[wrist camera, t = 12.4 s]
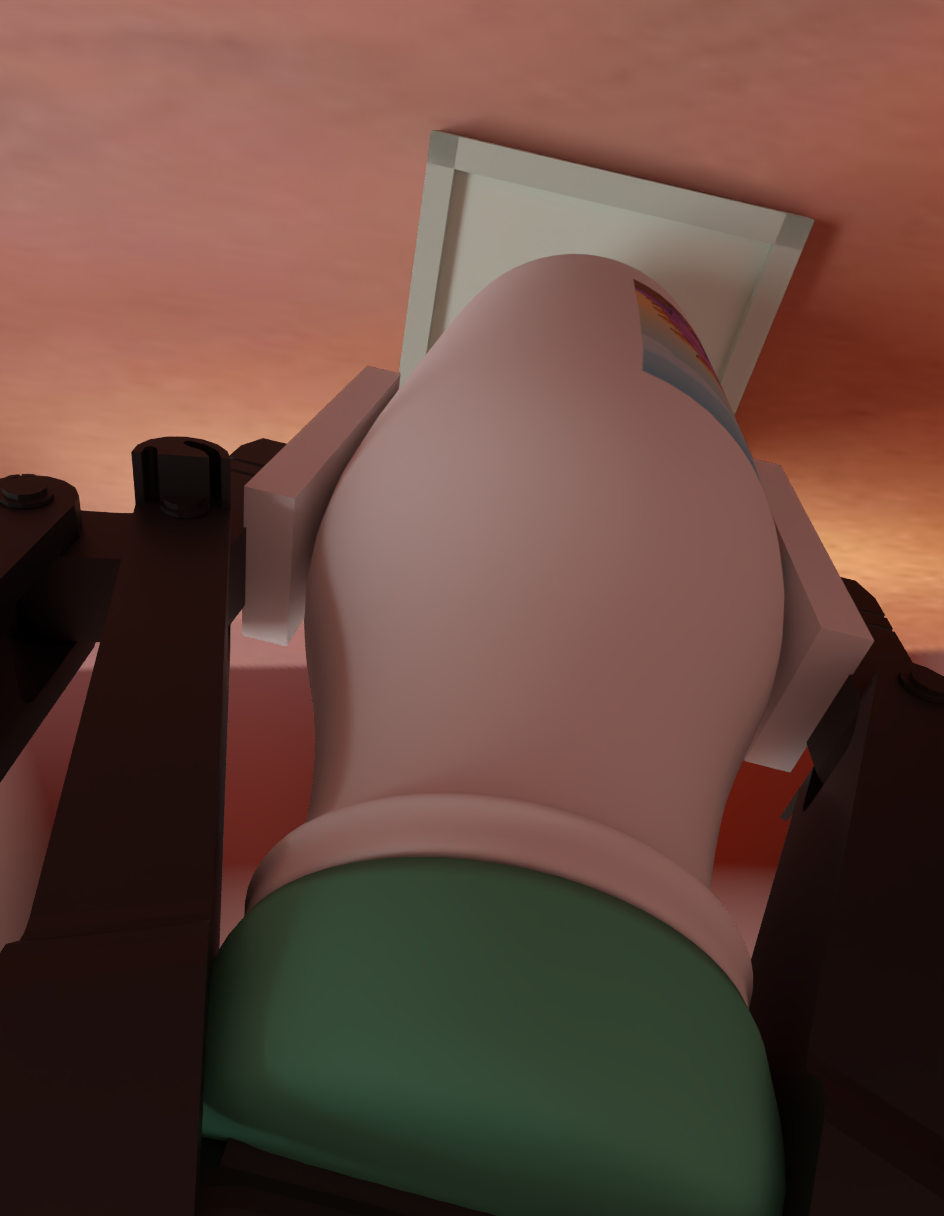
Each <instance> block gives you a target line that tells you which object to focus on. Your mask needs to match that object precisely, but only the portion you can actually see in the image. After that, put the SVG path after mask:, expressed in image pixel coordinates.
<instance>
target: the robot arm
mask: <svg viewBox="0 0 944 1216" xmlns="http://www.w3.org/2000/svg"><path fill="white" fill-rule="evenodd" d="M400 377H401V373H396V372H392V371H388V370H384V369H380V368H376V367H371V366H366V367H365V368H364V369H363V370H362V371H361V372H360V373H359V374H358V375H357V376H356V377H355V378H354V379H353V380H352V381H351V382H350V383H349V384H348V385H347V386H346V387H345V388H344V389H343V390H342V391H341V392H340V393H339V394H338V395H337V396H336V397H335V398H334V399H333V400H332V401H331V402H330V403H328V404H327V405H326V406H325V407H324V408H323V409H322V410H321V411H320V412H319V413H318V414H317V415H316V416H315V417H314V418H313V419H312V420H311V421H310V422H309V423H308V424H307V425H306V426H305V427H304V428H303V429H302V430H301V431H300V432H299V433H298V434H297V435H296V436H295V437H294V438H293V439H292V440H291V441H290V442H289V443H288V444H285V443H281V442H277V441H273V440H269V439H264V438H262V439H259V440H256V441H253V442H250V443H247V444H244V445H241V446H240V447H239V448H238V449H237V450H235V451H234V452H233V453H232V454H231V455H230V456H229V454H228V452H227V451H226V450H225V449H223V448H222V447H220V446H219V445H217V444H215V443H212V442H209V441H206V440H203V439H197V438H190V437H162V438H156V439H150V440H148V441H145V442H143V443H140V444H138V445H137V446H136V447H135V448H134V450H133V451H132V452H131V453H132V465H133V477H134V490H135V502H136V505H135V509H134V513H109V512H94V511H81V509H80V501H79V495H78V493H77V491H76V488H75V487H73V486H72V485H70V484H69V483H67V482H65V481H63V480H59V479H56V478H52V477H48V476H36V475H34V474H22V476H20V475H19V474H18V475H10V476H7V477H5V478H1V479H0V782H1V781H2V779H3V778H4V776H5V775H6V773H7V772H8V771H9V769H10V767H11V766H12V765H13V763H14V762H15V761H16V759H17V758H18V756H19V755H20V753H21V752H22V750H23V749H24V747H25V746H26V745H27V743H28V742H29V740H30V739H31V737H32V736H33V735H34V733H35V732H36V730H37V729H38V727H39V726H40V724H41V723H42V721H43V720H44V719H45V717H46V716H47V714H48V713H49V712H50V710H51V709H52V707H53V706H54V704H55V703H56V701H57V700H58V698H59V697H60V696H61V694H62V693H63V691H64V690H65V688H66V687H67V686H68V684H69V682H70V681H71V680H72V678H73V677H74V675H75V674H76V673H77V671H78V670H79V668H80V667H81V665H82V664H83V662H84V661H85V660H86V658H87V657H88V655H89V654H90V652H91V651H92V649H93V648H94V646H95V643H96V642H100V645H99V649H98V653H97V657H96V661H95V665H94V669H93V672H92V677H91V681H90V684H89V688H88V692H87V696H86V700H85V704H84V708H83V711H82V716H81V719H80V724H79V727H78V731H77V735H76V739H75V743H74V746H73V750H72V754H71V758H70V762H69V766H68V770H67V774H66V778H65V782H64V786H63V790H62V793H61V797H60V801H59V805H58V809H57V813H56V817H55V820H54V824H53V828H52V833H51V837H50V840H49V844H48V848H47V852H46V856H45V860H44V863H43V867H42V871H41V875H40V879H39V883H38V887H37V891H36V895H35V898H34V902H33V906H32V910H31V914H30V918H29V921H28V924H27V927H26V930H25V932H24V934H23V936H22V937H21V939H20V940H19V941H16V942H12V943H8V944H6V945H5V946H4V948H3V949H2V951H1V953H0V1216H496V1215H492V1214H489V1213H486V1212H481V1211H477V1210H473V1209H469V1208H465V1207H462V1206H459V1205H455V1204H452V1203H447V1202H443V1201H439V1200H435V1199H432V1198H428V1197H425V1196H422V1195H418V1194H414V1193H410V1192H406V1191H402V1190H398V1189H395V1188H391V1187H388V1186H385V1185H381V1184H378V1183H374V1182H370V1181H366V1180H362V1179H358V1178H354V1177H351V1176H348V1175H344V1174H341V1173H338V1172H334V1171H331V1170H328V1169H324V1168H320V1167H316V1166H312V1165H308V1164H304V1163H302V1162H299V1161H296V1160H293V1159H290V1158H286V1157H283V1156H280V1155H276V1154H273V1153H269V1152H266V1151H263V1150H260V1149H257V1148H255V1147H253V1146H251V1145H248V1144H246V1143H244V1142H241V1141H238V1140H235V1139H232V1138H230V1137H229V1139H228V1142H226V1141H221V1140H215V1139H209V1138H202V1117H203V1085H204V1063H205V1044H206V1028H207V1014H208V1001H209V988H210V977H211V969H212V964H213V961H214V959H215V957H216V955H217V953H218V951H219V945H220V917H221V916H220V915H221V890H222V862H223V834H224V806H225V778H226V750H227V723H228V694H229V668H230V624H231V623H232V621H233V620H234V619H235V617H236V616H237V615H238V613H239V612H240V611H241V609H242V635H243V636H247V637H251V638H255V639H259V640H263V641H267V642H271V643H275V644H279V645H283V646H287V645H288V643H289V642H290V640H291V638H292V637H293V635H294V634H295V632H296V630H297V629H298V627H299V625H300V624H301V622H302V621H303V619H304V616H305V600H306V588H307V578H308V573H309V568H310V563H311V559H312V554H313V550H314V545H315V541H316V536H317V533H318V530H319V527H320V524H321V521H322V518H323V516H324V513H325V511H326V509H327V506H328V504H329V501H330V499H331V497H332V494H333V492H334V490H335V488H336V485H337V483H338V481H339V479H340V477H341V475H342V473H343V471H344V470H345V468H346V466H347V465H348V463H349V461H350V460H351V458H352V457H353V455H354V454H355V452H356V450H357V449H358V447H359V446H360V444H361V443H362V441H363V440H364V438H365V436H366V435H367V433H368V432H369V430H370V429H371V427H372V426H373V424H374V423H375V421H376V419H377V418H378V416H379V415H380V414H381V412H382V411H383V410H384V409H385V407H386V406H387V405H388V403H389V402H390V401H391V399H392V398H393V397H394V395H395V394H396V393H397V392H398V390H399V384H400ZM753 461H754V464H755V467H756V470H757V473H758V475H759V478H760V481H761V484H762V487H763V490H764V493H765V496H766V499H767V502H768V505H769V508H770V511H771V514H772V517H773V520H774V524H775V528H776V533H777V538H778V543H779V550H780V557H781V565H782V572H783V584H784V616H783V635H782V645H781V650H780V656H779V662H778V666H777V671H776V675H775V680H774V684H773V688H772V691H771V694H770V698H769V701H768V704H767V706H766V709H765V711H764V714H763V717H762V719H761V722H760V724H759V727H758V729H757V731H756V733H755V736H754V738H753V740H752V743H751V745H750V747H749V749H748V751H747V753H746V755H745V757H744V760H745V761H748V762H751V763H755V764H759V765H763V766H767V767H772V768H775V769H780V770H783V771H787V772H791V770H792V769H793V767H794V766H795V764H796V763H797V761H798V759H799V758H800V756H801V755H802V753H803V752H804V750H805V749H806V747H807V746H808V749H809V752H810V755H811V758H812V761H813V764H814V767H813V768H812V770H811V771H810V773H809V774H808V776H807V777H806V779H805V780H804V782H803V784H802V785H801V786H800V788H799V790H798V791H797V793H796V794H795V796H794V797H793V799H792V800H791V802H790V803H789V805H788V806H787V808H786V809H785V811H784V812H783V814H782V815H781V817H780V818H781V819H783V820H785V821H787V820H788V819H789V818H790V816H791V815H792V814H793V815H792V818H791V822H790V825H789V829H788V832H787V836H786V839H785V843H784V846H783V850H782V853H781V857H780V860H779V864H778V867H777V871H776V874H775V878H774V881H773V885H772V888H771V892H770V895H769V899H768V902H767V906H766V909H765V913H764V916H763V920H762V923H761V927H760V930H759V934H758V937H757V941H756V945H755V948H754V951H753V955H752V958H751V964H752V971H753V992H752V997H751V1001H750V1006H749V1011H750V1013H751V1015H752V1017H753V1019H754V1021H755V1023H756V1025H757V1027H758V1030H759V1032H760V1035H761V1038H762V1041H763V1044H764V1046H765V1051H766V1056H767V1060H768V1065H769V1069H770V1074H771V1079H772V1083H773V1088H774V1092H775V1097H776V1102H777V1106H778V1111H779V1115H780V1121H781V1128H782V1136H783V1144H784V1156H785V1180H786V1192H785V1200H784V1206H783V1213H782V1216H944V676H942V675H940V674H938V673H936V672H934V671H932V670H930V669H929V668H926V667H924V666H921V665H918V664H915V663H913V662H912V661H911V659H910V657H909V655H908V654H907V652H906V650H905V649H904V647H903V645H902V643H901V642H900V640H899V638H898V637H897V635H896V633H895V632H893V631H892V629H893V628H892V626H891V625H890V623H889V621H888V619H887V618H884V616H885V614H884V613H883V611H882V609H881V607H880V606H879V604H878V602H877V601H876V599H875V598H874V597H873V596H872V595H871V594H870V593H869V592H868V591H867V590H865V589H864V588H863V587H862V586H861V585H860V584H859V583H858V582H856V581H855V580H851V579H846V578H842V577H840V576H839V574H838V572H837V570H836V568H835V566H834V564H833V562H832V561H831V559H830V557H829V555H828V553H827V551H826V549H825V547H824V546H823V544H822V542H821V540H820V538H819V536H818V534H817V532H816V531H815V529H814V527H813V525H812V523H811V521H810V519H809V517H808V516H807V514H806V512H805V510H804V508H803V506H802V504H801V502H800V501H799V499H798V497H797V495H796V493H795V491H794V489H793V487H792V486H791V484H790V482H789V480H788V478H787V476H786V474H785V472H784V471H783V469H782V467H781V465H777V464H773V463H769V462H765V461H761V460H757V459H753Z"/></svg>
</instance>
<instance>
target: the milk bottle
mask: <svg viewBox="0 0 944 1216" xmlns="http://www.w3.org/2000/svg"><path fill="white" fill-rule="evenodd" d="M783 616H784V584H783V572H782V565H781V557H780V550H779V543H778V538H777V533H776V528H775V524H774V520H773V517H772V514H771V511H770V508H769V505H768V502H767V499H766V496H765V493H764V490H763V487H762V484H761V481H760V478H759V475H758V473H757V470H756V467H755V464H754V461H753V458H752V455H751V453H750V451H749V448H748V446H747V444H746V441H745V439H744V437H743V434H742V432H741V430H740V427H739V425H738V423H737V420H736V418H735V416H734V413H733V411H732V409H731V406H730V404H729V402H728V400H727V397H726V395H725V393H724V391H723V389H722V387H721V384H720V382H719V380H718V378H717V376H716V374H715V371H714V369H713V367H712V365H711V363H710V361H709V359H708V356H707V354H706V352H705V350H704V348H703V346H702V344H701V342H700V340H699V338H698V335H697V333H696V331H695V329H694V327H693V326H692V324H691V323H690V321H689V319H688V318H687V316H686V315H685V313H684V312H683V310H682V309H681V307H680V306H679V305H678V304H677V302H676V301H675V300H674V298H673V297H672V296H671V295H670V294H669V293H668V292H667V291H666V290H665V289H664V288H663V287H662V286H660V285H659V284H658V283H657V282H655V281H654V280H653V279H652V278H650V277H649V276H647V275H646V274H644V273H642V272H641V271H639V270H637V269H635V268H633V267H631V266H629V265H627V264H624V263H622V262H619V261H616V260H613V259H609V258H605V257H601V256H595V255H588V254H563V255H554V256H549V257H543V258H540V259H536V260H533V261H530V262H527V263H525V264H522V265H520V266H517V267H515V268H513V269H511V270H510V271H508V272H506V273H504V274H502V275H501V276H500V277H498V278H497V279H495V280H494V281H492V282H491V283H490V284H488V285H487V286H486V287H485V288H484V289H483V290H481V291H480V292H479V293H478V294H477V295H476V296H475V297H474V298H473V299H472V300H471V301H470V302H469V303H468V304H467V305H466V306H465V307H464V308H463V310H462V311H461V312H460V313H459V314H458V316H457V317H456V318H455V319H454V320H453V322H452V323H451V324H450V325H449V327H448V328H447V329H446V330H445V332H444V333H443V334H442V335H441V337H440V338H439V339H438V340H437V342H436V343H435V344H434V345H433V347H432V348H431V349H430V350H429V351H428V353H427V354H426V355H425V356H424V358H423V359H422V360H421V362H420V363H419V364H418V365H417V367H416V368H415V369H414V371H413V372H412V373H411V374H410V376H409V377H408V378H407V380H406V381H405V382H404V384H403V385H402V386H401V388H400V389H399V390H398V392H397V393H396V394H395V395H394V397H393V398H392V399H391V401H390V402H389V403H388V405H387V406H386V407H385V409H384V410H383V411H382V412H381V414H380V415H379V416H378V418H377V419H376V421H375V423H374V424H373V426H372V427H371V429H370V430H369V432H368V433H367V435H366V436H365V438H364V440H363V441H362V443H361V444H360V446H359V447H358V449H357V450H356V452H355V454H354V455H353V457H352V458H351V460H350V461H349V463H348V465H347V466H346V468H345V470H344V471H343V473H342V475H341V477H340V479H339V481H338V483H337V485H336V488H335V490H334V492H333V494H332V497H331V499H330V501H329V504H328V506H327V509H326V511H325V513H324V516H323V518H322V521H321V524H320V527H319V530H318V533H317V536H316V541H315V545H314V550H313V554H312V559H311V563H310V568H309V573H308V578H307V588H306V600H305V616H304V630H305V647H306V659H307V667H308V674H309V681H310V688H311V695H312V703H313V711H314V722H315V761H314V773H313V784H312V792H311V800H310V805H309V810H308V814H307V819H306V822H305V824H303V825H302V826H300V827H299V828H297V829H296V830H294V831H292V832H291V833H289V834H288V835H287V836H286V837H284V838H283V839H282V840H281V841H280V842H279V843H277V844H276V845H275V846H274V847H273V848H272V850H271V851H270V852H269V853H268V854H267V855H266V857H265V858H264V859H263V860H262V861H261V863H260V865H259V866H258V868H257V869H256V871H255V872H254V874H253V877H252V879H251V882H250V884H249V887H248V891H247V895H246V900H245V916H244V918H243V919H242V920H241V921H240V922H239V923H238V925H237V926H236V927H235V928H234V929H233V930H232V932H231V933H230V934H229V935H228V937H227V938H226V940H225V941H224V943H223V944H222V946H221V947H220V949H219V951H218V953H217V955H216V957H215V959H214V961H213V964H212V969H211V977H210V988H209V1001H208V1014H207V1028H206V1044H205V1063H204V1085H203V1117H202V1138H209V1139H215V1140H221V1141H226V1142H228V1139H229V1137H230V1138H232V1139H235V1140H238V1141H241V1142H244V1143H246V1144H248V1145H251V1146H253V1147H255V1148H257V1149H260V1150H263V1151H266V1152H269V1153H273V1154H276V1155H280V1156H283V1157H286V1158H290V1159H293V1160H296V1161H299V1162H302V1163H304V1164H308V1165H312V1166H316V1167H320V1168H324V1169H328V1170H331V1171H334V1172H338V1173H341V1174H344V1175H348V1176H351V1177H354V1178H358V1179H362V1180H366V1181H370V1182H374V1183H378V1184H381V1185H385V1186H388V1187H391V1188H395V1189H398V1190H402V1191H406V1192H410V1193H414V1194H418V1195H422V1196H425V1197H428V1198H432V1199H435V1200H439V1201H443V1202H447V1203H452V1204H455V1205H459V1206H462V1207H465V1208H469V1209H473V1210H477V1211H481V1212H486V1213H489V1214H492V1215H496V1216H782V1213H783V1206H784V1200H785V1192H786V1180H785V1156H784V1144H783V1136H782V1128H781V1121H780V1115H779V1111H778V1106H777V1102H776V1097H775V1092H774V1088H773V1083H772V1079H771V1074H770V1069H769V1065H768V1060H767V1056H766V1051H765V1046H764V1044H763V1041H762V1038H761V1035H760V1032H759V1030H758V1027H757V1025H756V1023H755V1021H754V1019H753V1017H752V1015H751V1013H750V1011H749V1006H750V1001H751V997H752V992H753V971H752V964H751V958H750V955H749V952H748V950H747V946H746V944H745V941H744V939H743V937H742V936H741V933H740V931H739V930H738V928H737V926H736V924H735V922H734V921H733V919H732V918H731V916H730V915H729V913H728V912H727V910H726V909H725V908H724V906H723V905H722V904H721V903H720V902H719V900H717V898H716V897H715V896H714V895H713V894H712V893H711V884H712V883H711V882H712V869H713V862H714V855H715V850H716V845H717V839H718V834H719V828H720V824H721V819H722V816H723V812H724V808H725V804H726V801H727V798H728V795H729V792H730V789H731V787H732V785H733V782H734V779H735V777H736V774H737V772H738V770H739V768H740V766H741V763H742V762H743V759H744V757H745V755H746V753H747V751H748V749H749V747H750V745H751V743H752V740H753V738H754V736H755V733H756V731H757V729H758V727H759V724H760V722H761V719H762V717H763V714H764V711H765V709H766V706H767V704H768V701H769V698H770V694H771V691H772V688H773V684H774V680H775V675H776V671H777V666H778V662H779V656H780V650H781V645H782V635H783Z"/></svg>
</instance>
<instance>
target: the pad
mask: <svg viewBox="0 0 944 1216" xmlns="http://www.w3.org/2000/svg"><path fill="white" fill-rule="evenodd" d="M813 223H814V219H811V218H809V217H807V216H802V215H798V214H794V213H790V212H785V211H781V210H777V209H773V208H768V207H764V206H760V205H756V204H751V203H747V202H743V201H738V200H734V199H730V198H726V197H721V196H717V195H713V194H709V193H704V192H700V191H696V190H692V189H687V188H683V187H679V186H674V185H670V184H666V183H662V182H657V181H653V180H649V179H645V178H640V177H636V176H632V175H628V174H623V173H619V172H615V171H610V170H606V169H602V168H598V167H593V166H589V165H585V164H581V163H576V162H572V161H568V160H563V159H559V158H555V157H551V156H546V155H542V154H538V153H534V152H529V151H525V150H521V149H517V148H512V147H508V146H504V145H499V144H495V143H491V142H487V141H482V140H478V139H474V138H470V137H465V136H461V135H457V134H453V133H448V132H444V131H440V130H431V137H430V144H429V152H428V159H427V167H426V174H425V182H424V189H423V197H422V204H421V212H420V219H419V227H418V234H417V242H416V249H415V257H414V264H413V272H412V279H411V287H410V294H409V302H408V309H407V317H406V324H405V332H404V340H403V347H402V355H401V362H400V370H399V373H401V377H400V384H399V389H400V388H401V386H402V385H403V384H404V382H405V381H406V380H407V378H408V377H409V376H410V374H411V373H412V372H413V371H414V369H415V368H416V367H417V365H418V364H419V363H420V362H421V360H422V359H423V358H424V356H425V355H426V354H427V353H428V351H429V350H430V349H431V348H432V347H433V345H434V344H435V343H436V342H437V340H438V339H439V338H440V337H441V335H442V334H443V333H444V332H445V330H446V329H447V328H448V327H449V325H450V324H451V323H452V322H453V320H454V319H455V318H456V317H457V316H458V314H459V313H460V312H461V311H462V310H463V308H464V307H465V306H466V305H467V304H468V303H469V302H470V301H471V300H472V299H473V298H474V297H475V296H476V295H477V294H478V293H479V292H480V291H481V290H483V289H484V288H485V287H486V286H487V285H488V284H490V283H491V282H492V281H494V280H495V279H497V278H498V277H500V276H501V275H502V274H504V273H506V272H508V271H510V270H511V269H513V268H515V267H517V266H520V265H522V264H525V263H527V262H530V261H533V260H536V259H540V258H543V257H549V256H554V255H563V254H588V255H595V256H601V257H605V258H609V259H613V260H616V261H619V262H622V263H624V264H627V265H629V266H631V267H633V268H635V269H637V270H639V271H641V272H642V273H644V274H646V275H647V276H649V277H650V278H652V279H653V280H654V281H655V282H657V283H658V284H659V285H660V286H662V287H663V288H664V289H665V290H666V291H667V292H668V293H669V294H670V295H671V296H672V297H673V298H674V300H675V301H676V302H677V304H678V305H679V306H680V307H681V309H682V310H683V312H684V313H685V315H686V316H687V318H688V319H689V321H690V323H691V324H692V326H693V327H694V329H695V331H696V333H697V335H698V338H699V340H700V342H701V344H702V346H703V348H704V350H705V352H706V354H707V356H708V359H709V361H710V363H711V365H712V367H713V369H714V371H715V374H716V376H717V378H718V380H719V382H720V384H721V387H722V389H723V391H724V393H725V395H726V397H727V400H728V402H729V404H730V406H731V409H732V411H733V413H734V416H735V413H736V411H737V408H738V406H739V403H740V401H741V399H742V396H743V394H744V391H745V389H746V386H747V384H748V381H749V379H750V377H751V374H752V372H753V369H754V367H755V364H756V362H757V360H758V357H759V355H760V352H761V350H762V347H763V345H764V342H765V340H766V338H767V335H768V333H769V330H770V328H771V325H772V323H773V320H774V318H775V316H776V313H777V311H778V308H779V306H780V303H781V301H782V299H783V296H784V294H785V291H786V289H787V286H788V284H789V281H790V279H791V277H792V274H793V272H794V269H795V267H796V264H797V262H798V260H799V257H800V255H801V252H802V250H803V247H804V245H805V242H806V240H807V238H808V235H809V233H810V230H811V228H812V225H813Z"/></svg>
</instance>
